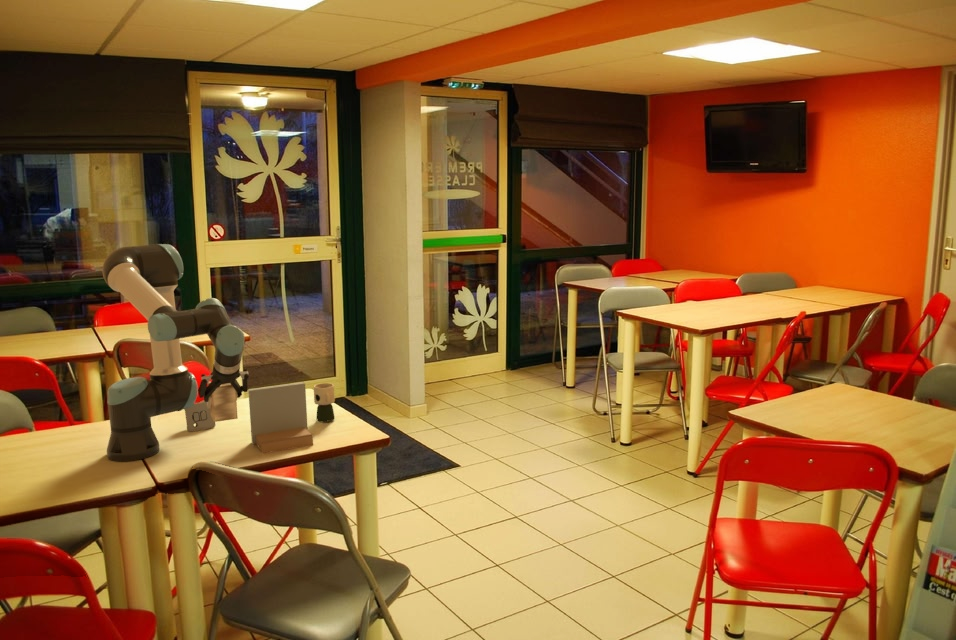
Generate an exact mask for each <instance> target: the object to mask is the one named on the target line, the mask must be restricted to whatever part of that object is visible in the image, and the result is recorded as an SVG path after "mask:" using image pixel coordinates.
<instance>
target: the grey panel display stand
mask: <svg viewBox="0 0 956 640" xmlns="http://www.w3.org/2000/svg"><path fill="white" fill-rule="evenodd" d="M247 392H248V404H249V418H250V419H249V420H250V432H251V444H252V445H257V447H258V449H259V450H260V452H261V453H262V454H267V453H273V452H278V451H285V450H290V449H291V450H292V449H296V448H302V447H309V446H313V445H314V435H313V433H310V432H309V430H308V410H307V394H306V383H305V382H304V381H303V382H302V381H301V382H294V383H285V384H279V385H271V386H263V387H256V388H255V387H254V388H248V391H247Z"/></svg>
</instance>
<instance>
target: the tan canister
mask: <svg viewBox="0 0 956 640" xmlns="http://www.w3.org/2000/svg"><path fill="white" fill-rule="evenodd" d="M210 383H211V381H209V383H208V384H207V386H208V385H209V384H210ZM211 397H212V400H211V407H210V416H211V417H212V419H213V421H214V422H215V423H216V422H217V423H218V422H222V421H223V422H224V421H229V420H237V419H238V405H237V401H236V390H235V389H234V387H233V386H232V385H231V384H230V383H225V384H221V385H220V387H217V388H216V390H215V391H214V392H213V393H212V395H211Z"/></svg>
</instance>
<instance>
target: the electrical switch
mask: <svg viewBox="0 0 956 640" xmlns="http://www.w3.org/2000/svg"><path fill="white" fill-rule="evenodd" d="M183 410H184V413H185V421H186V430H187V432H189V433H191V432H195V431H201V430H202V431H203V430H208V429H213V428H215V426H216V422H214V421H213V419H212V417H211V416H210V409H208V407H207V402H204V401H202V402H194V404H193V405H192V406H191V407H189V408H186V409H183ZM194 424H195V425H194Z"/></svg>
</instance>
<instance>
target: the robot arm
mask: <svg viewBox="0 0 956 640" xmlns="http://www.w3.org/2000/svg"><path fill="white" fill-rule="evenodd" d="M183 275H184V263H183V259H182V257H181V255H180V253H179V251H178V250H177V249H176V248H175V247H174V246H173V245H171V244H169V243H167V244H166V243H163V244H162V243H155V244H146V245H133V246H129V245H128V246H122V247H119V248H116V249H115V250H113V251H111V252H110V253H109V254H108V255H107V256H106V257H105V260H104V261H103V264H102V277H103V279H104V281H105V283H106V285H107V286H108V287H109V288H110V289H112V290H113V291H114V292H117V293H120V294H121V296H123V297H124V298H125V299H126V300H127V301H128V302H129V303H130V304H131V305H132V306H133V307H134V308H135V309H136V310H137V311H138V312H139V313H140V315H142V317H144V318H145V319H146V321H147V330H148V333H149V338H150V339H149V340H150V348H151V355H152V356H151V357H152V363H153V368H152V369H151V371H150V372H149V380H148V379H147V378H146V377H143V376H136V377H127V378H124V379H121V380H118V381H116V382H114V383H112V384H111V385H110V386H109V387H108V389H107V392H106V393H107V400H106V403H107V405H108V407H107V408H108V413H109V414H108V415H109V425H110V436H109V439H108V444H107V448H106V455H107V456H106V457H107V459H108V460H110V461H114V462H133V461H138V460H142V459H146V458H149V457H152V456H154V455H156V454H157V453H158V452H159V451H160V442H159V440H158V438H157V435H156V434H155V431H154V430H153V428H152V420H151V419H152V417H157V416H162V415H164V414H165V415H166V414H170V413H175V412H181V411H182V410H184V409H186V408H189V407H191V406H192V405H193V404H194V403H196V400H197V397H199V399H203V400H204V401H203V402H207V407H208V409H210V407H211V400H212V397H211V395H212V393H213V392H214V391H215V390H216V388H217V387H220V385H221V384H225V383H230V384H231V385H232V386H233V387H234V389H235V390H236V402H237V401H238V399H239V398H241V396H242V395H243V394H242V393H243V392H244V393H247V392H248V389H249V388H248V380H249V377H250V375H249V370H248V369H247V368H244V369H243V371H241V363H242V357H243V353H244V348H245V342H246V341H245V338H246V337H245V333H244V331H243V330H242V329H240V327H238V326H236V325H234V324H233V322H232V320H231V318H230V317H229V314H228V313H227V309H226V308H225V306H224V304H222V302H221V301H220V300H219V299H217V298H214V297H209V298H205V300H201V301H200V302H199V303H197V305H196V306H195V308H193V309H185V310H177V309H176V300H175V293H174V291H175V289H176V288H177V287H178V286H179V285H178V284H179V283H178V280H180V279H182V277H183ZM204 335H207V336H208V338H209V341H211V343H212V345H213V347H214V355H213V357H214V358H213V366H212V372H211V373H210V374H209V375H206V374H205V373H204V374H203V373H202V374H200V376H201V381H200V382H199V385H198V382H197V380H196V377H195V375H194V374H193V372H189V368H188V367H187V366H185V365H184V364H183V359H182V352H181V351H182V350H181V343H180V339H184V338H190V337H197V336H204ZM238 378H241V384H242V385H240V383H239V382H238V380H237V379H238ZM209 382H211V383H210V384H209V385H208V383H209Z"/></svg>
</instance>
